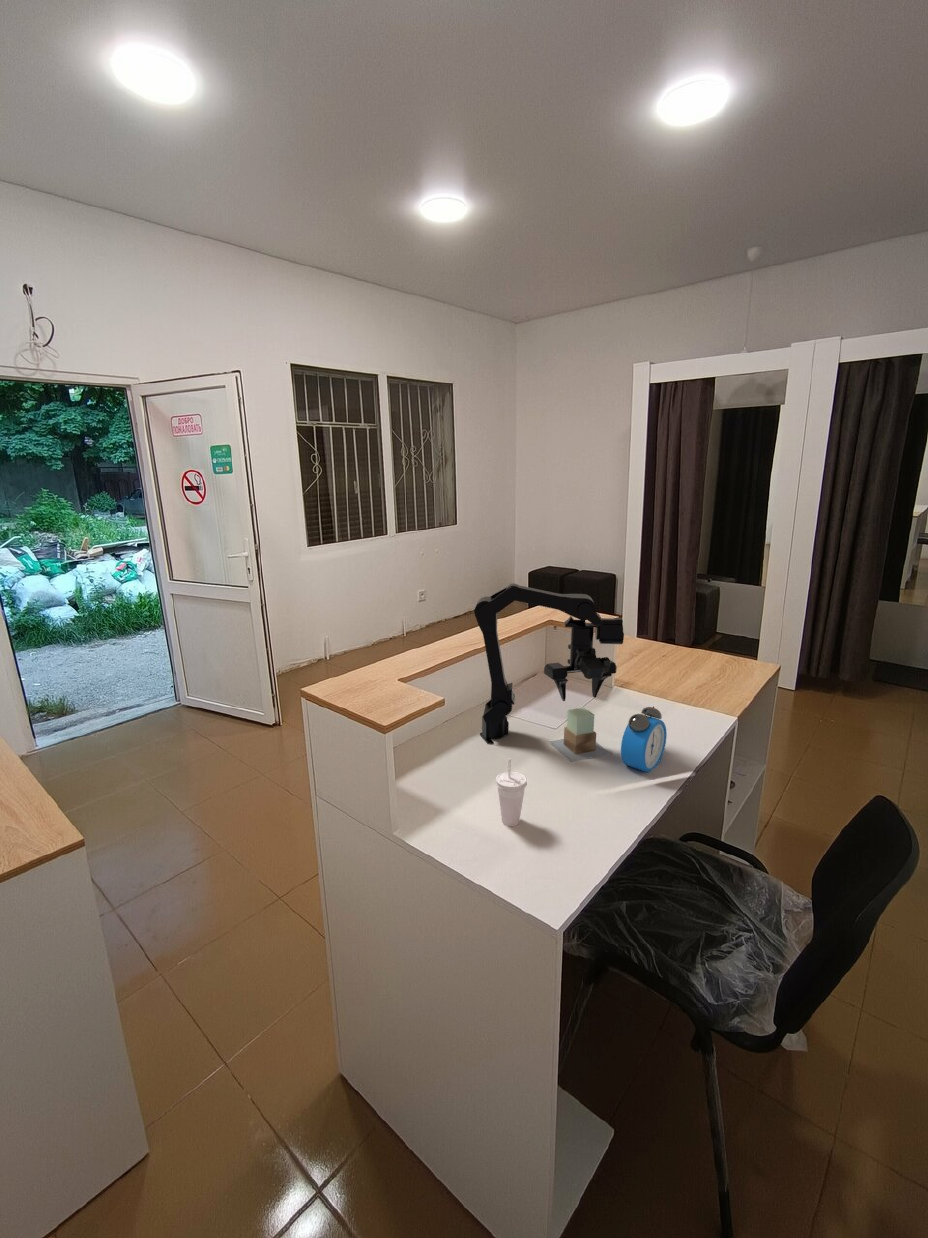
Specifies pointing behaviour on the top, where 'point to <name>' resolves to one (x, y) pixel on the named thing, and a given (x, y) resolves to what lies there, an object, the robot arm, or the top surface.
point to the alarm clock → (644, 740)
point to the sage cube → (580, 721)
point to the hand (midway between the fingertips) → (579, 698)
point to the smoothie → (511, 795)
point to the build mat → (574, 757)
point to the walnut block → (579, 741)
